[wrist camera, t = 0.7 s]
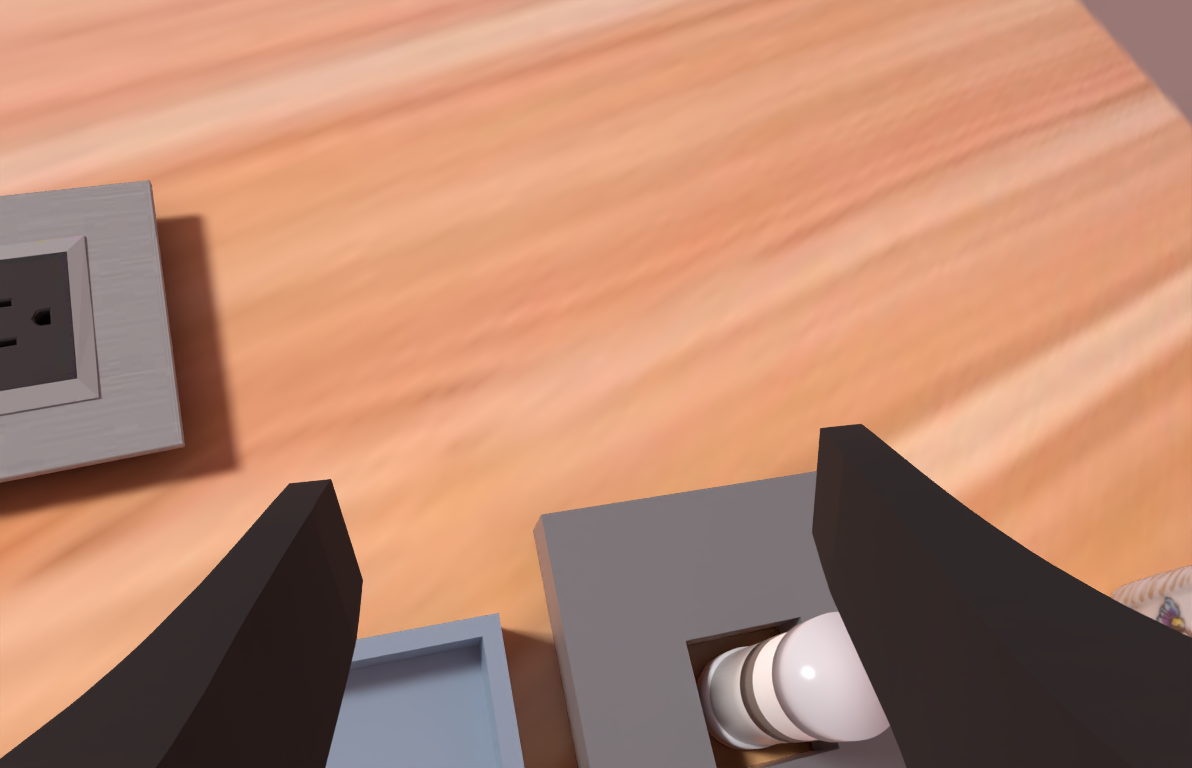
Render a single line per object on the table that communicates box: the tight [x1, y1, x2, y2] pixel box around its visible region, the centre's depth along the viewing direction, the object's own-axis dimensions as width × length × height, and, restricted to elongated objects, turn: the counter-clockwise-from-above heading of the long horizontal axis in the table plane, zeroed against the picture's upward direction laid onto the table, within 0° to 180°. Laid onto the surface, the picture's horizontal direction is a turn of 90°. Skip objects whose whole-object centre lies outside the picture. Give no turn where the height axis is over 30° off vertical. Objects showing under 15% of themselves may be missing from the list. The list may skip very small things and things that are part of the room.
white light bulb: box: [697, 612, 890, 750], centre depth 26 cm, size 3×3×8 cm
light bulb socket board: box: [533, 471, 906, 768], centre depth 28 cm, size 16×14×2 cm
